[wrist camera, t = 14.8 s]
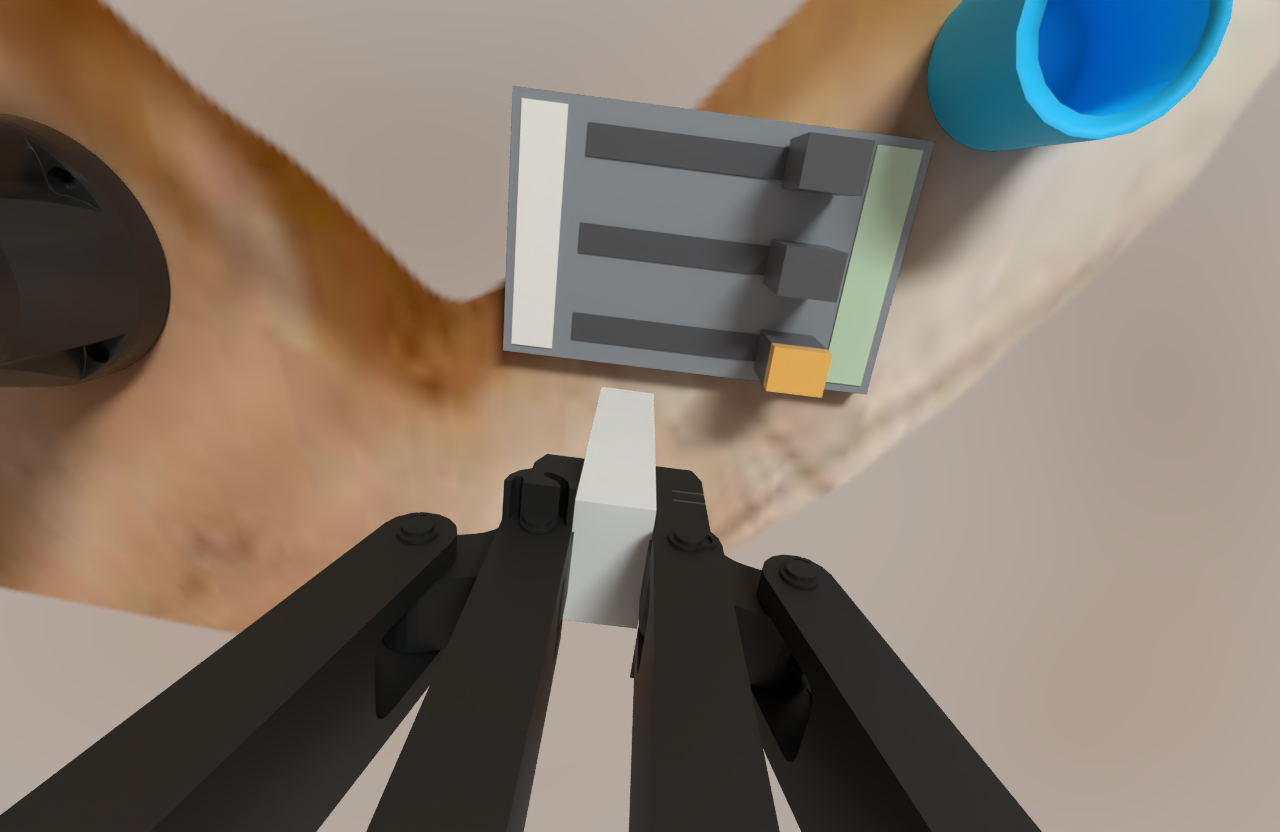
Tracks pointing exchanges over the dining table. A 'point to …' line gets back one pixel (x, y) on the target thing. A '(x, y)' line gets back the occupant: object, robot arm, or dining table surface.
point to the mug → (1067, 67)
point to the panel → (689, 237)
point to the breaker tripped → (792, 363)
